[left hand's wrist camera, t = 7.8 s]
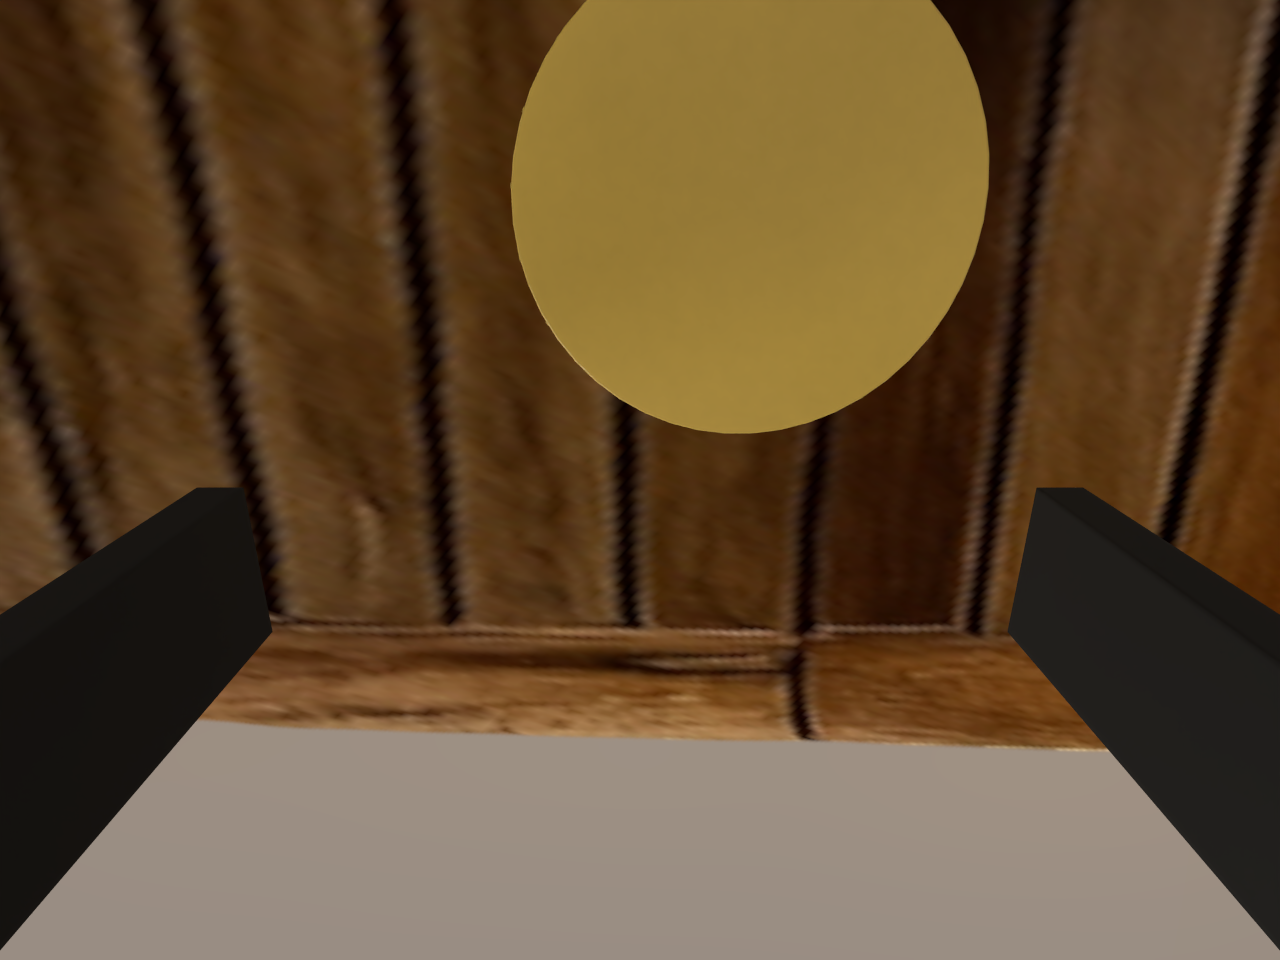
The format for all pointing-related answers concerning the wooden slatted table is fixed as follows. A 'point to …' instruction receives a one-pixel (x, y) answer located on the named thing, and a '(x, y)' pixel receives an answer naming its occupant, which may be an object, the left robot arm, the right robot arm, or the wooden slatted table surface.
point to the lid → (749, 200)
